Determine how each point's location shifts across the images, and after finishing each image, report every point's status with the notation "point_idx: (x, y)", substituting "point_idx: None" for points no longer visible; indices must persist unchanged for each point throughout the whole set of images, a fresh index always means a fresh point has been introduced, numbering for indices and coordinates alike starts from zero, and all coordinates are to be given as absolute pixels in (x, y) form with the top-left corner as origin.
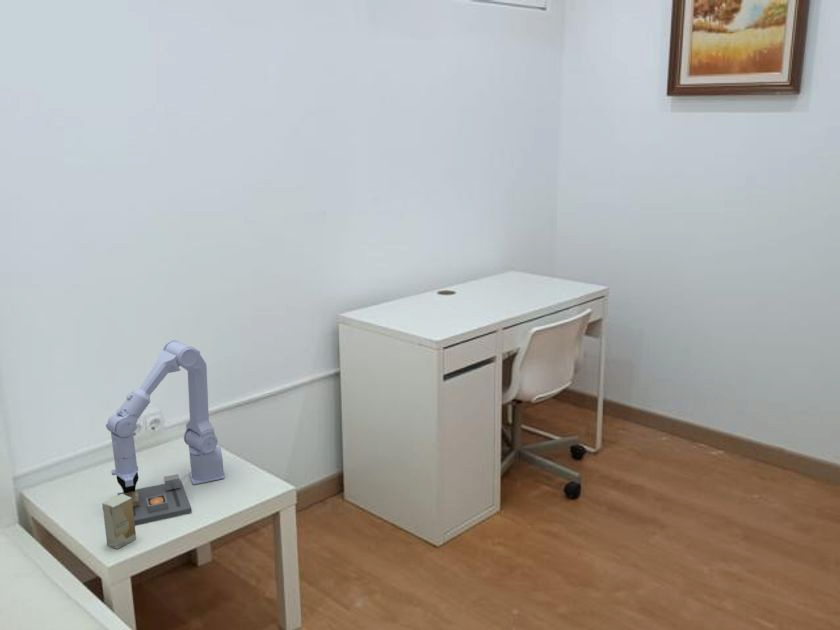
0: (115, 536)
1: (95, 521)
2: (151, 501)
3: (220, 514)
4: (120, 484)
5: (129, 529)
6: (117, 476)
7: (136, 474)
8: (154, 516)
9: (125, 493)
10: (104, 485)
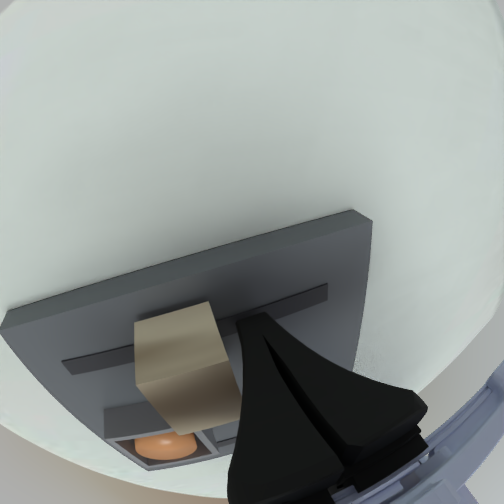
0: None
1: (73, 115)
2: (155, 441)
3: (139, 480)
4: (230, 468)
5: None
6: (391, 432)
7: (329, 490)
8: (83, 421)
9: (227, 377)
10: (459, 140)
